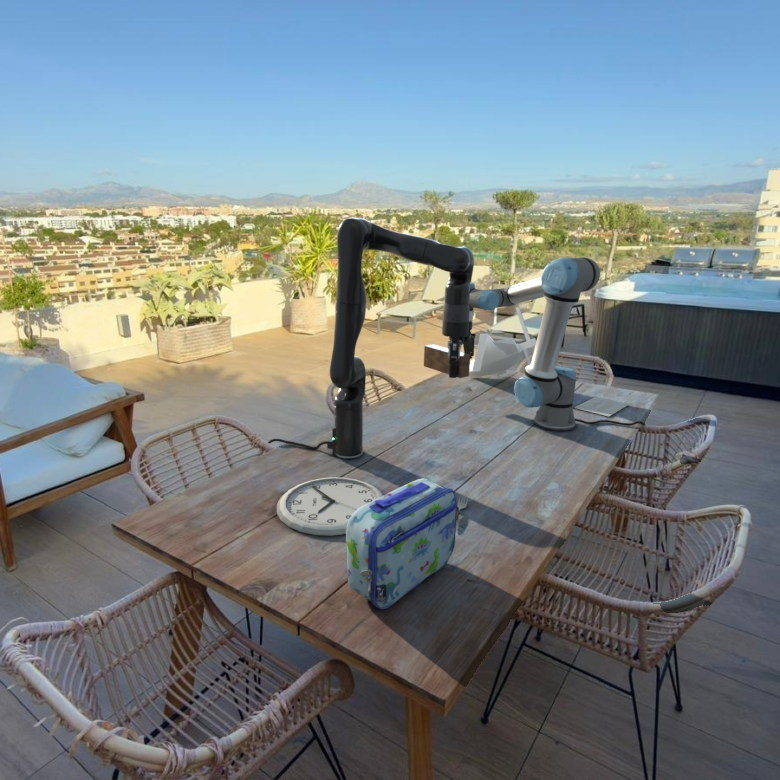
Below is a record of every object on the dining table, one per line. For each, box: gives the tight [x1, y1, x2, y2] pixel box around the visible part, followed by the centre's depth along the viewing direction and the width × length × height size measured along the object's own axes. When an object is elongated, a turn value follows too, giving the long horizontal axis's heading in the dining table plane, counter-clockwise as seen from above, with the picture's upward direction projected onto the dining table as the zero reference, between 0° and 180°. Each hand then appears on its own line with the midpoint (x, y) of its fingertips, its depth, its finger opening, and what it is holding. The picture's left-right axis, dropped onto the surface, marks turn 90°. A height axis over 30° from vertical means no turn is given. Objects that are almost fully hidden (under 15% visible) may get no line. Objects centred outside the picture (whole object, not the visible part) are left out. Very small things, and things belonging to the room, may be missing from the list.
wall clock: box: [276, 476, 385, 537], centre depth 142 cm, size 30×2×30 cm
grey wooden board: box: [573, 396, 629, 418], centre depth 226 cm, size 21×1×15 cm
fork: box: [456, 494, 470, 521], centre depth 139 cm, size 3×16×2 cm, turn 160°
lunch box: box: [345, 477, 457, 610], centre depth 110 cm, size 26×11×21 cm, turn 134°
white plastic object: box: [469, 306, 537, 378], centre depth 259 cm, size 37×45×31 cm
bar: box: [423, 343, 471, 379], centre depth 229 cm, size 23×6×10 cm, turn 38°
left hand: (452, 373), depth 154 cm, fingers open, 8 cm apart
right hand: (460, 373), depth 224 cm, fingers closed on bar, 5 cm apart
